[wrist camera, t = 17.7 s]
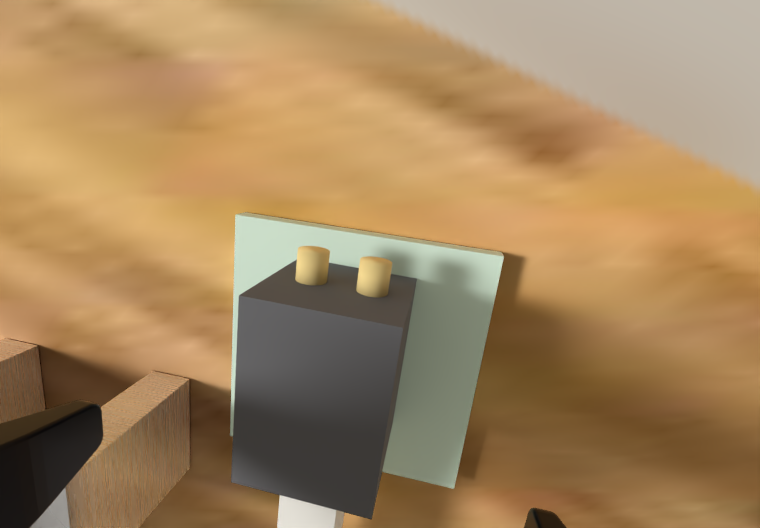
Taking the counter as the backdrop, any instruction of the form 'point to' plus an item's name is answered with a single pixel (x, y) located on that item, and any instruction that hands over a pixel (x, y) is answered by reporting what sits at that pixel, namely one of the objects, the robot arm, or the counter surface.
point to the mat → (425, 335)
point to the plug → (319, 384)
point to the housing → (110, 444)
